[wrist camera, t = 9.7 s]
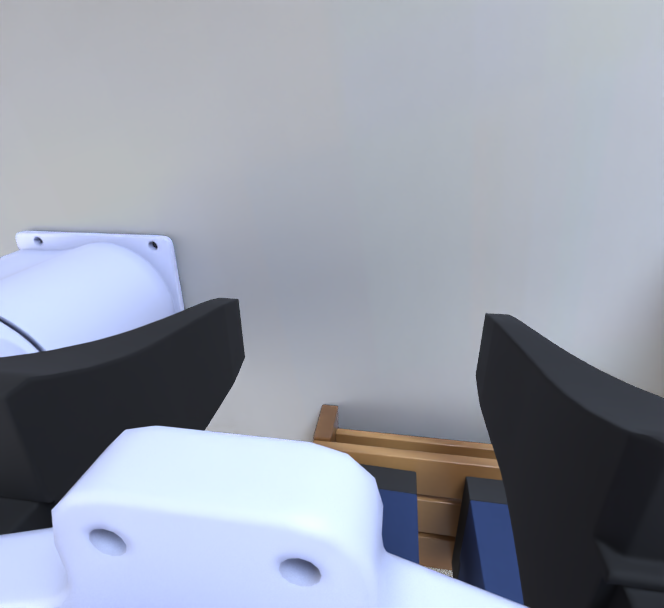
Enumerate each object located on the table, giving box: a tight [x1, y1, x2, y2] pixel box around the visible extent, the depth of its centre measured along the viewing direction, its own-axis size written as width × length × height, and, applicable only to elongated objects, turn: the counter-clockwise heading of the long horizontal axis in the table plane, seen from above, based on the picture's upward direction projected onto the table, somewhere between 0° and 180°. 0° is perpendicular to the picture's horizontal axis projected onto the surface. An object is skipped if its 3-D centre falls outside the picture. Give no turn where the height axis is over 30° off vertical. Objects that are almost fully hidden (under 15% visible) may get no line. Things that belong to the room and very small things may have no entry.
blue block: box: [360, 464, 419, 564], centre depth 21 cm, size 7×4×6 cm, turn 179°
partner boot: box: [451, 476, 524, 605], centre depth 20 cm, size 7×4×6 cm, turn 1°
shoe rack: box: [313, 405, 502, 570], centre depth 25 cm, size 14×9×4 cm, turn 91°
